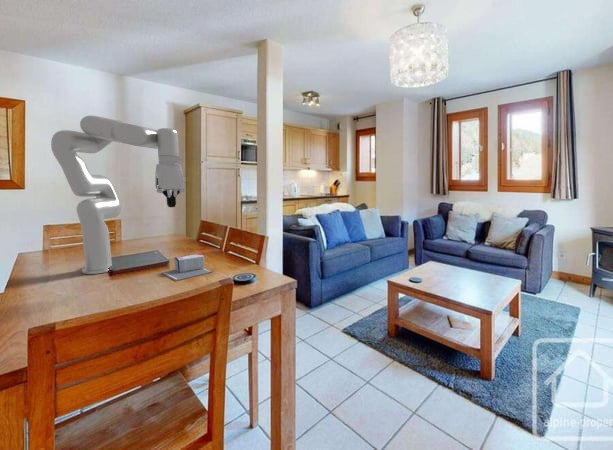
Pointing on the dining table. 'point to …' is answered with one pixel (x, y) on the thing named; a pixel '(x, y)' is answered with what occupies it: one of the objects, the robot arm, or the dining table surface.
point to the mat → (185, 274)
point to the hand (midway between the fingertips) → (171, 206)
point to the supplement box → (189, 262)
